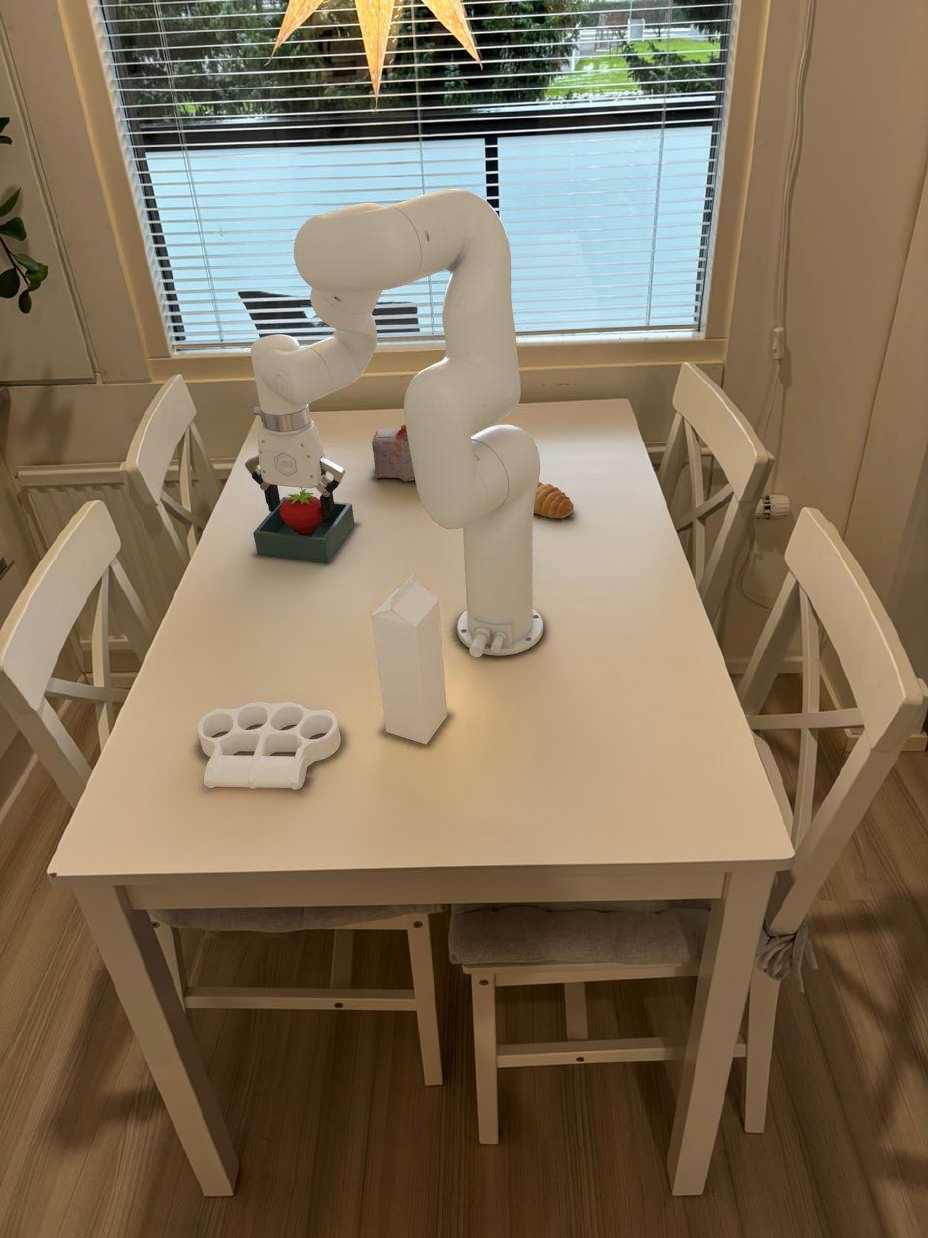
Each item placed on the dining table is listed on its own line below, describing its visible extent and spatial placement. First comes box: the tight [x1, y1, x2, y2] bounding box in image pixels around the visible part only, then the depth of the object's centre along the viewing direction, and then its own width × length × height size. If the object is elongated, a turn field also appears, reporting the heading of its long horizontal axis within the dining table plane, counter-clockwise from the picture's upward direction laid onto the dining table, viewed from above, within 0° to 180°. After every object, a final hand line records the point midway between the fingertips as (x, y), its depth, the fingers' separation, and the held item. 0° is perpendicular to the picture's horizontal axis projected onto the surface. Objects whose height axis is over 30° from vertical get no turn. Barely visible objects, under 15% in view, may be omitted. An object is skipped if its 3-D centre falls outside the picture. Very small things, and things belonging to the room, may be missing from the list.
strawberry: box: [280, 488, 323, 537], centre depth 157 cm, size 6×8×10 cm
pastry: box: [533, 481, 575, 519], centre depth 163 cm, size 9×7×4 cm
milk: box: [371, 572, 448, 745], centre depth 114 cm, size 6×6×22 cm
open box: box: [252, 496, 356, 564], centre depth 158 cm, size 12×13×4 cm
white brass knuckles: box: [196, 701, 342, 791], centre depth 117 cm, size 3×18×15 cm
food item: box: [371, 424, 415, 482], centre depth 175 cm, size 14×8×10 cm, turn 83°
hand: (301, 510), depth 157 cm, fingers open, 9 cm apart
